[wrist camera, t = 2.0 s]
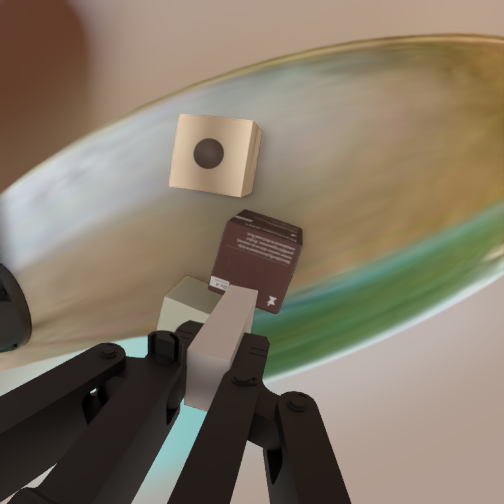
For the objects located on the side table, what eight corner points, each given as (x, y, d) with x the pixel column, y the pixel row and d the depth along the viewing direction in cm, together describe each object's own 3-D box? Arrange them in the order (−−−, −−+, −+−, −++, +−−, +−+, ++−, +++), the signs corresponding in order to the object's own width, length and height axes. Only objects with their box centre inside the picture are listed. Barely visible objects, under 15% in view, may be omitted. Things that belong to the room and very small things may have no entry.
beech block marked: (192, 183, 30) (167, 186, 24) (201, 124, 28) (178, 113, 23) (252, 192, 29) (239, 197, 24) (262, 131, 28) (252, 120, 22)
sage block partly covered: (174, 321, 34) (151, 348, 28) (187, 275, 33) (163, 296, 27) (224, 342, 34) (210, 373, 28) (241, 296, 32) (228, 323, 26)
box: (303, 228, 30) (305, 246, 22) (283, 285, 31) (278, 316, 24) (243, 208, 30) (226, 218, 23) (226, 264, 32) (205, 291, 25)
